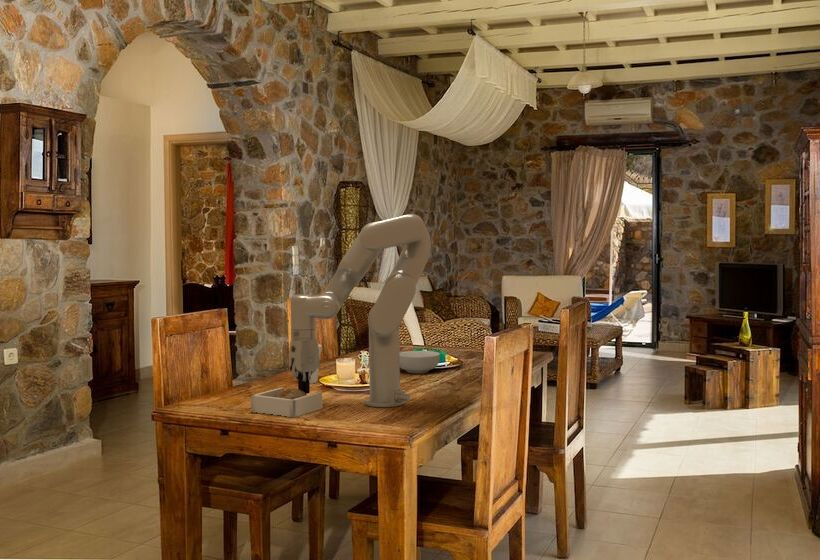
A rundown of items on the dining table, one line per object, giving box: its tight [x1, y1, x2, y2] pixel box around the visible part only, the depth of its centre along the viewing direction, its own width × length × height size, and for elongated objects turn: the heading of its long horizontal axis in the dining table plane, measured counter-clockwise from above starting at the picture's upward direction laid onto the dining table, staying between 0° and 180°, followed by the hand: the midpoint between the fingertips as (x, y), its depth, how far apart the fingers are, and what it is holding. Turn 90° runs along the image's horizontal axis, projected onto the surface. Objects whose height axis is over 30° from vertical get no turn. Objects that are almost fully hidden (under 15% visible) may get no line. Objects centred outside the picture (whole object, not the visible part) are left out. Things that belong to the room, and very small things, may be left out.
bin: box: [250, 387, 323, 419], centre depth 253 cm, size 16×14×5 cm
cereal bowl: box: [400, 350, 441, 374], centre depth 317 cm, size 17×17×7 cm
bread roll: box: [276, 388, 307, 400], centre depth 255 cm, size 10×10×8 cm
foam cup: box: [309, 343, 322, 384], centre depth 298 cm, size 10×9×13 cm
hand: (303, 393), depth 260 cm, fingers closed
